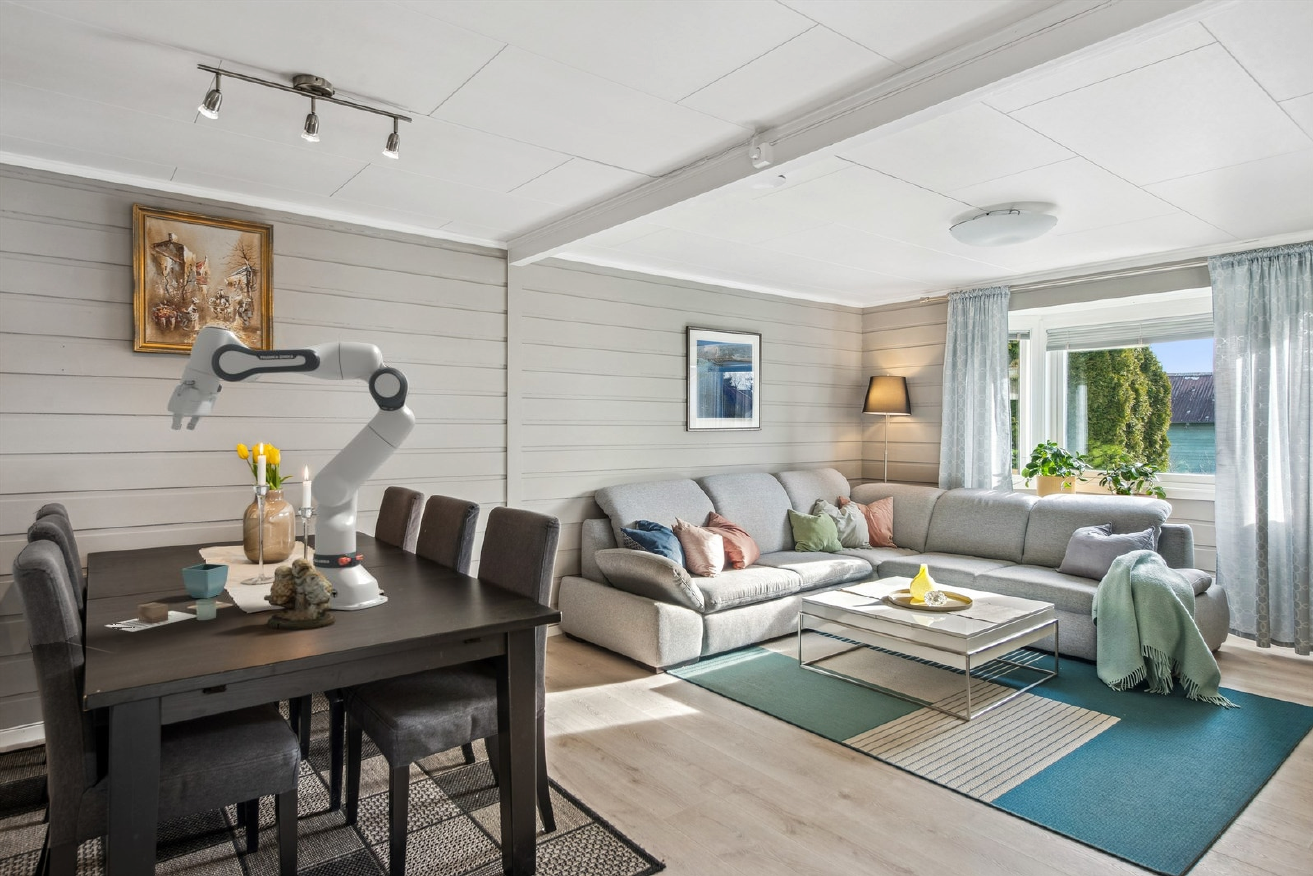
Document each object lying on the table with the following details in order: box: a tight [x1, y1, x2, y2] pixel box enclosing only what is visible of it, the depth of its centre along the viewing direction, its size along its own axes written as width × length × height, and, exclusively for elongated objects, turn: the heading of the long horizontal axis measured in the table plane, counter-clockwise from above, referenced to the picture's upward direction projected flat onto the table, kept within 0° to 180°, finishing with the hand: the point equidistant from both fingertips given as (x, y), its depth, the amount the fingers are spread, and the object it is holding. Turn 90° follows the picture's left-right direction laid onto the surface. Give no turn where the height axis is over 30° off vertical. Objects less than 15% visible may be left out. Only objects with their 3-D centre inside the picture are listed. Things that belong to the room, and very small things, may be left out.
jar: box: [195, 597, 217, 621], centre depth 200 cm, size 5×5×5 cm
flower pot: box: [181, 563, 230, 599], centre depth 225 cm, size 9×9×9 cm
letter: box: [104, 610, 197, 632], centre depth 197 cm, size 12×17×1 cm
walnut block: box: [137, 602, 169, 624], centre depth 197 cm, size 6×4×4 cm, turn 64°
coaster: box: [186, 600, 234, 611], centre depth 212 cm, size 8×8×1 cm
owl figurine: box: [263, 557, 336, 631], centre depth 196 cm, size 18×12×17 cm, turn 87°
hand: (182, 429), depth 210 cm, fingers open, 8 cm apart
